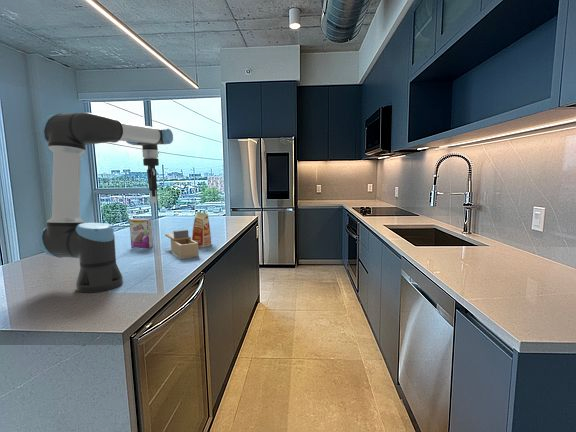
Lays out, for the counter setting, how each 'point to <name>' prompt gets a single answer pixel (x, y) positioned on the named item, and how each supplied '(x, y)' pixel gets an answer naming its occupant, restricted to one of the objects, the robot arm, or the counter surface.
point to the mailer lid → (178, 235)
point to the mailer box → (185, 248)
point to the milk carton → (201, 230)
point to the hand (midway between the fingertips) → (153, 202)
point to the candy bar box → (141, 233)
